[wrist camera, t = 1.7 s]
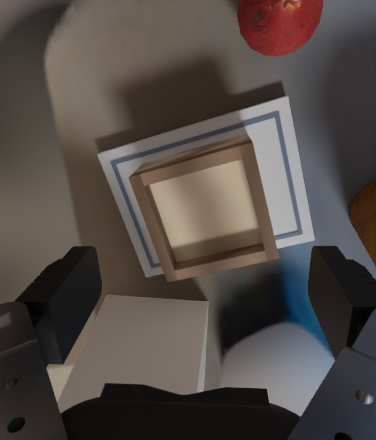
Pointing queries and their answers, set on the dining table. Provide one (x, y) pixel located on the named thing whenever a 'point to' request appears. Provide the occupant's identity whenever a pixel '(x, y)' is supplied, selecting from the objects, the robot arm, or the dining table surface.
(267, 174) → the board
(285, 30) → the red round fruit
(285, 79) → the dining table surface
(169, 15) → the dining table surface
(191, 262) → the square wooden tray
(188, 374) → the milk
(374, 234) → the disposable coffee cup
